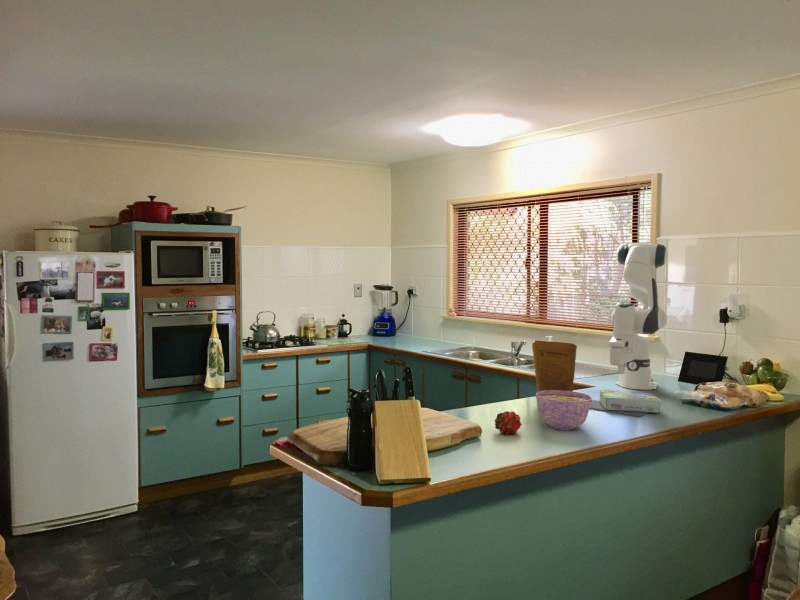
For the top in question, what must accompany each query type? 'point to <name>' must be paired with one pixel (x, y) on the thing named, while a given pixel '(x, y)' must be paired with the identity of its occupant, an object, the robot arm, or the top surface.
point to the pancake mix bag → (554, 365)
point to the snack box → (629, 401)
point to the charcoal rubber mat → (598, 406)
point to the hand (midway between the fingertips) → (621, 373)
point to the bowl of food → (563, 408)
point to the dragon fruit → (508, 422)
